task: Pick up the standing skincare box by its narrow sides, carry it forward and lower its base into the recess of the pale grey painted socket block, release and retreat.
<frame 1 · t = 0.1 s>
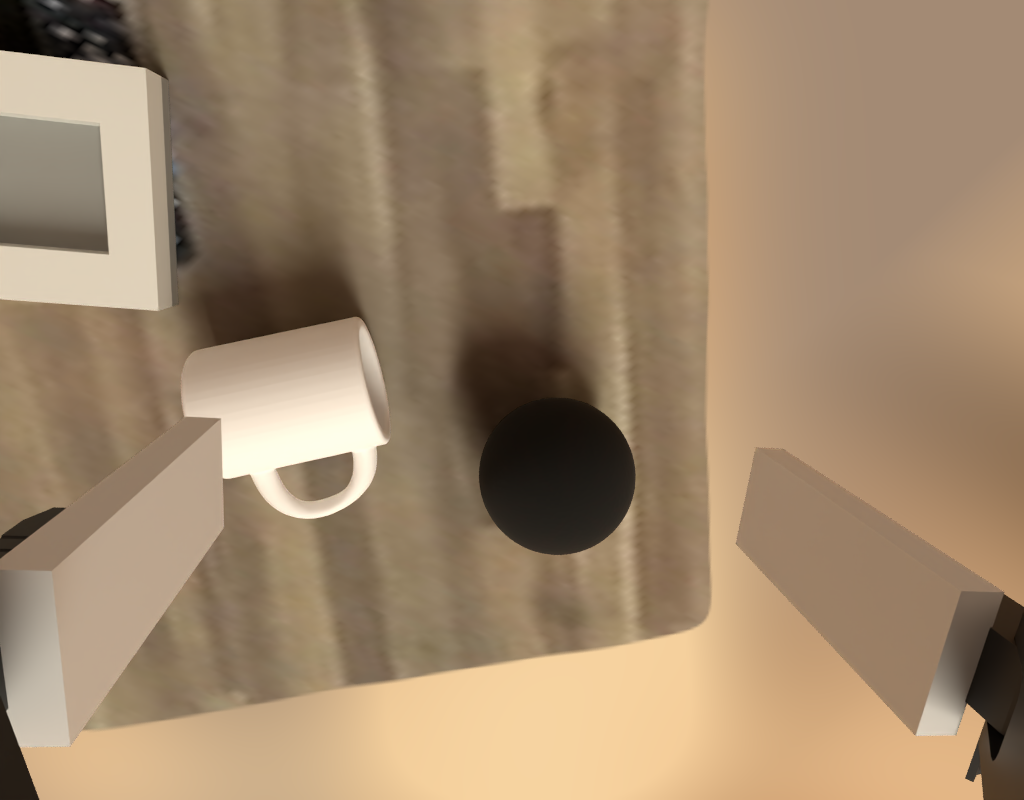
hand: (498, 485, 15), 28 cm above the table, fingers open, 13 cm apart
mug: (316, 408, 43), on the table
socket block: (57, 186, 37), on the table
decorative ball: (543, 447, 46), on the table
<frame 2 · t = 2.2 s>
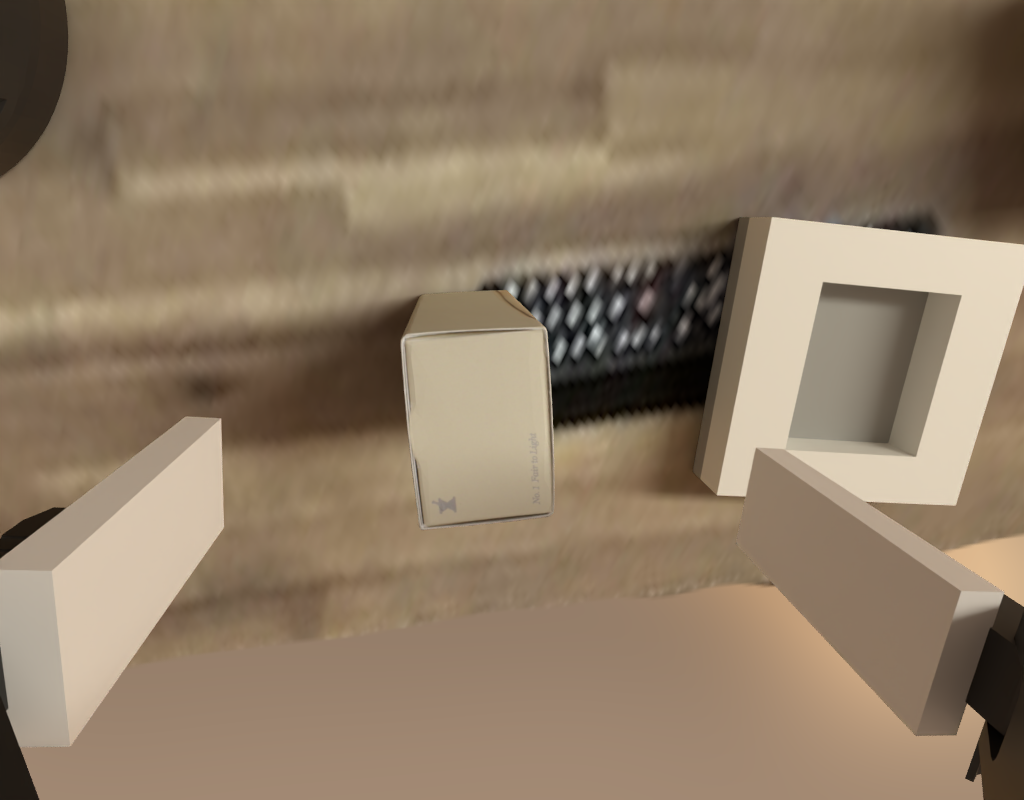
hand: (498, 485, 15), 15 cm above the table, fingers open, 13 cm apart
socket block: (833, 360, 32), on the table
skincare box: (464, 352, 30), on the table
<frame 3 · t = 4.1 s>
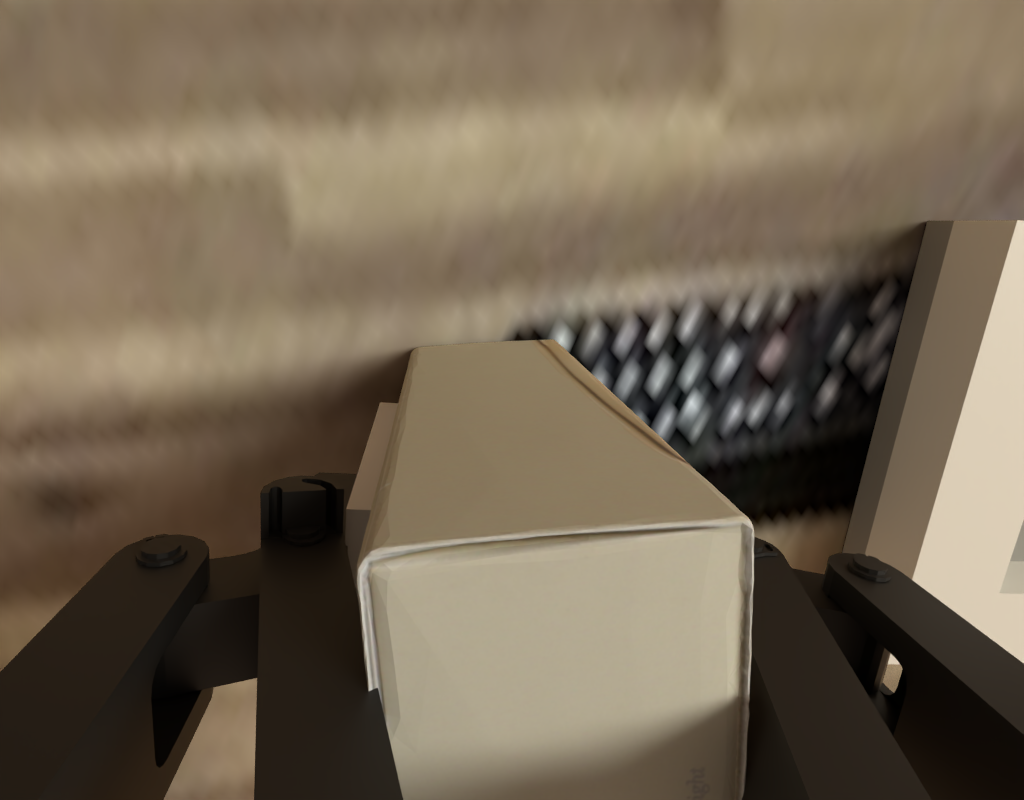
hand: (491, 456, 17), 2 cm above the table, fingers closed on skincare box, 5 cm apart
skincare box: (484, 436, 19), on the table, touching gripper
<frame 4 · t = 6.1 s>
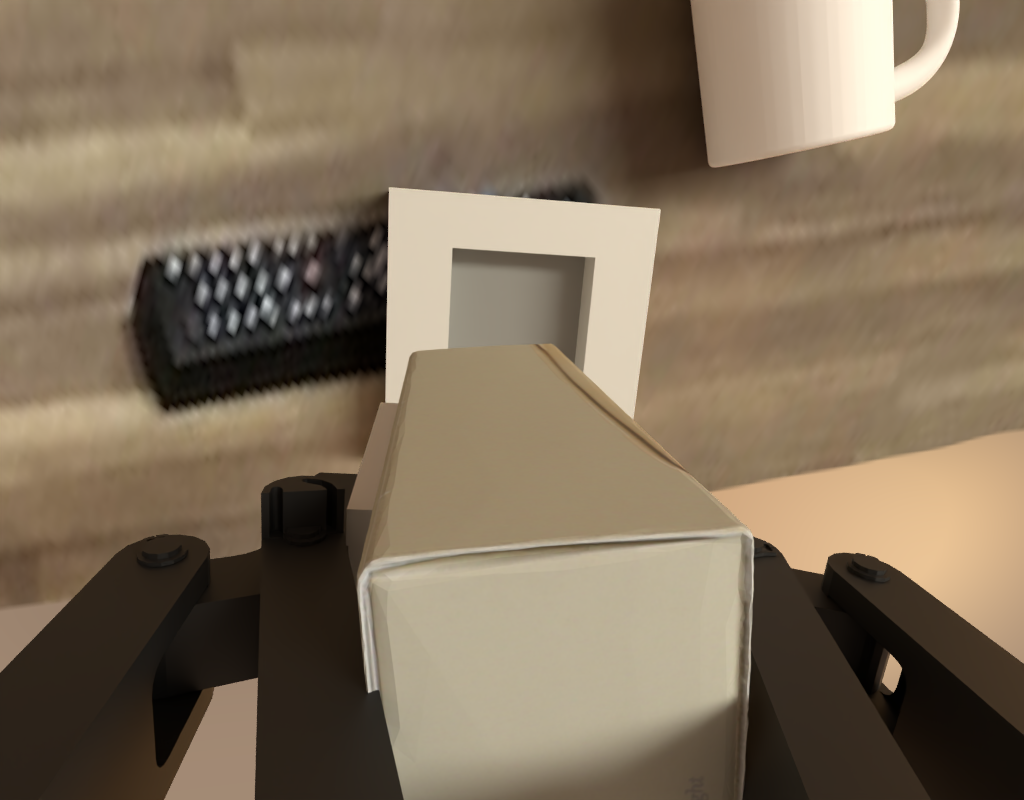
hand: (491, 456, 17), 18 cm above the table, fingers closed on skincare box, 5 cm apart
mug: (780, 47, 32), on the table
socket block: (511, 324, 34), on the table
skincare box: (482, 439, 19), point 16 cm above the table, touching gripper
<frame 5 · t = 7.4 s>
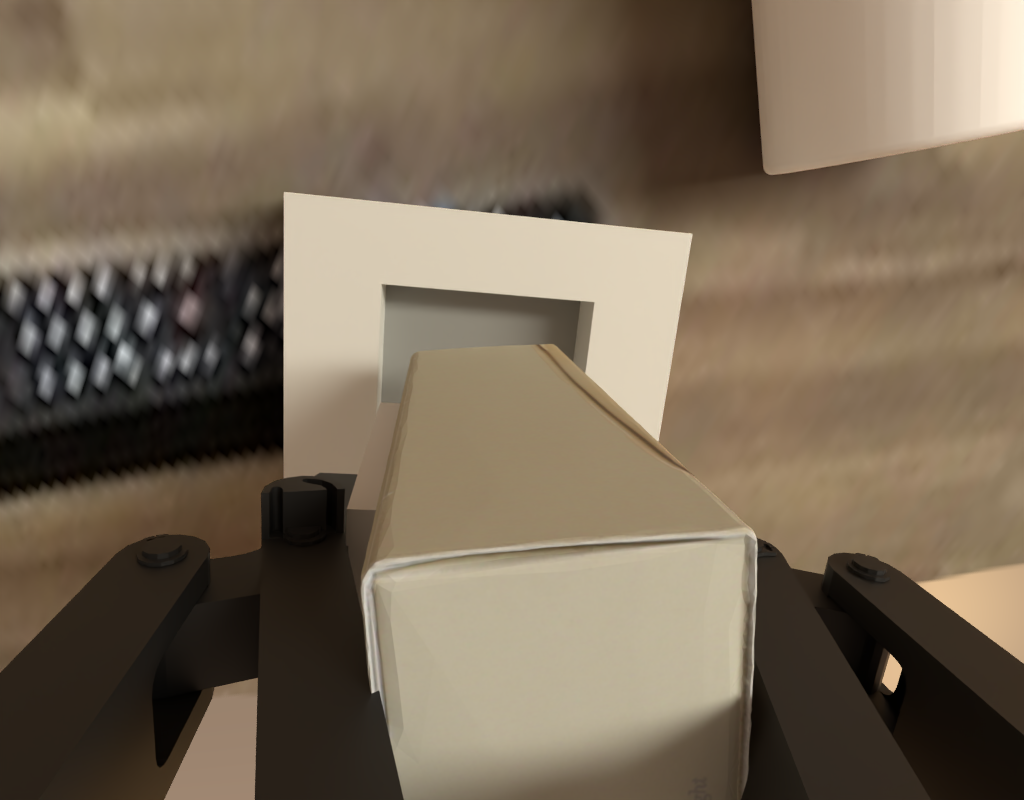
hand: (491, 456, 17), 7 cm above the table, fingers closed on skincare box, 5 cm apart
mug: (867, 7, 23), on the table
socket block: (475, 388, 24), on the table
skincare box: (484, 440, 19), point 6 cm above the table, touching gripper
when the fingers open (4 cm above the table, at t = 8.3 s): skincare box drops 1 cm, resting on socket block.
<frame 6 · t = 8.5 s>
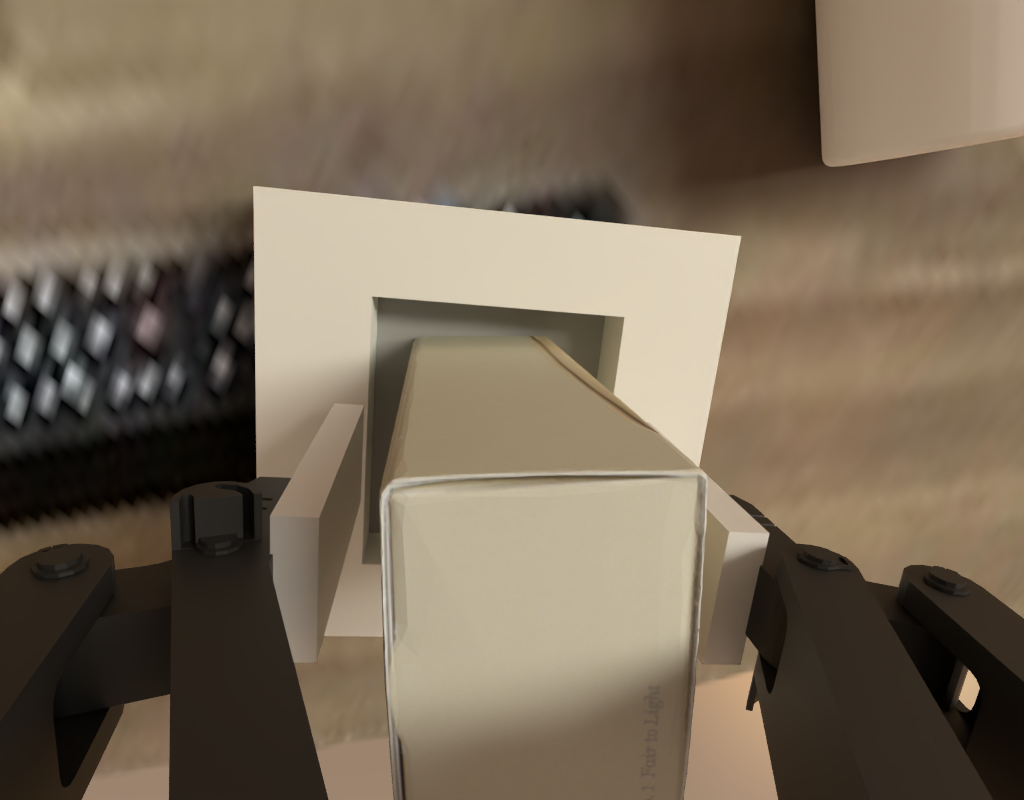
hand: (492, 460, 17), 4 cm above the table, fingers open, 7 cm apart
socket block: (482, 414, 21), on the table
skincare box: (477, 423, 20), point 1 cm above the table, touching socket block
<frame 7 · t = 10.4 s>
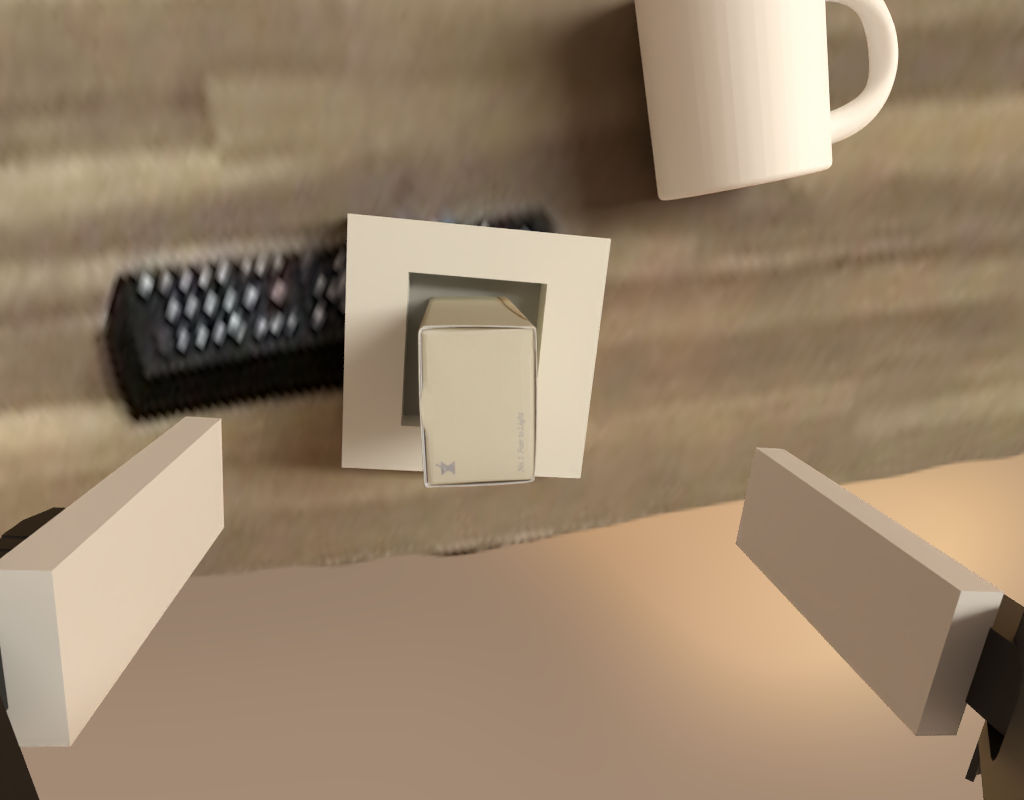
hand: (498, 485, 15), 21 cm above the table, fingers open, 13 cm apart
mug: (733, 86, 34), on the table
socket block: (470, 345, 35), on the table
skincare box: (467, 348, 35), point 1 cm above the table, touching socket block
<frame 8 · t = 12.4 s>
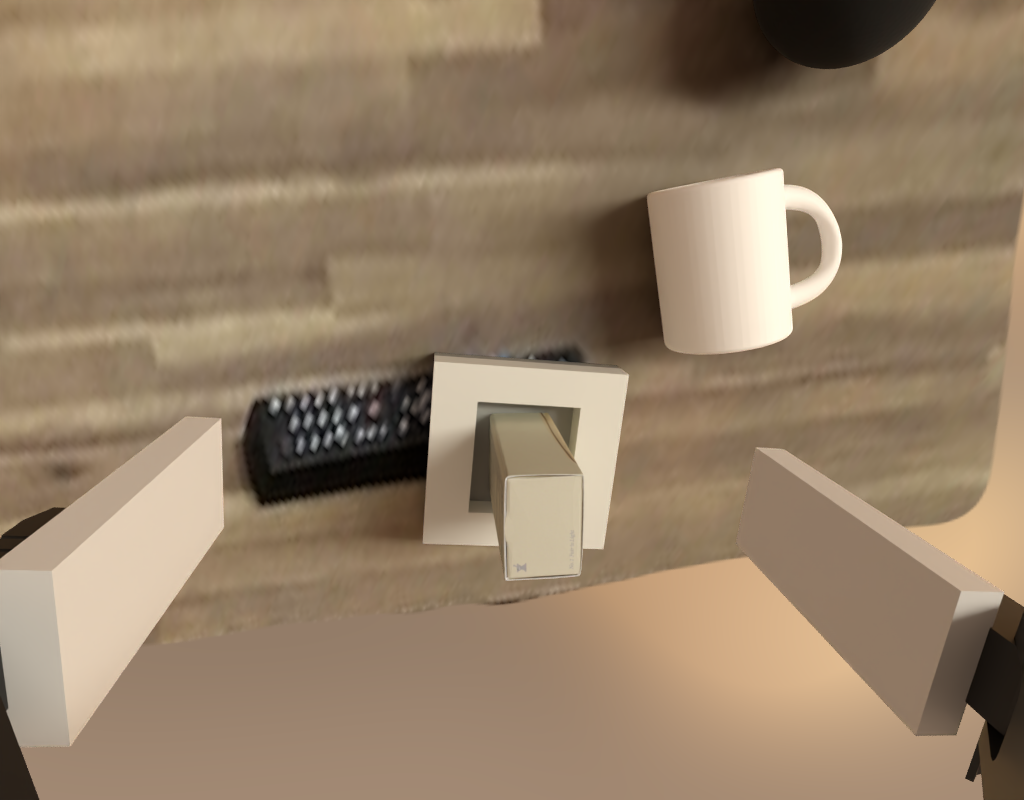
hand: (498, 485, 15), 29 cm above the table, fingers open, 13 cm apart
mug: (721, 253, 44), on the table
socket block: (518, 446, 46), on the table
skincare box: (516, 450, 45), point 1 cm above the table, touching socket block
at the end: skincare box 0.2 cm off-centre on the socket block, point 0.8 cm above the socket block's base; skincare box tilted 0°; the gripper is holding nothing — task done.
